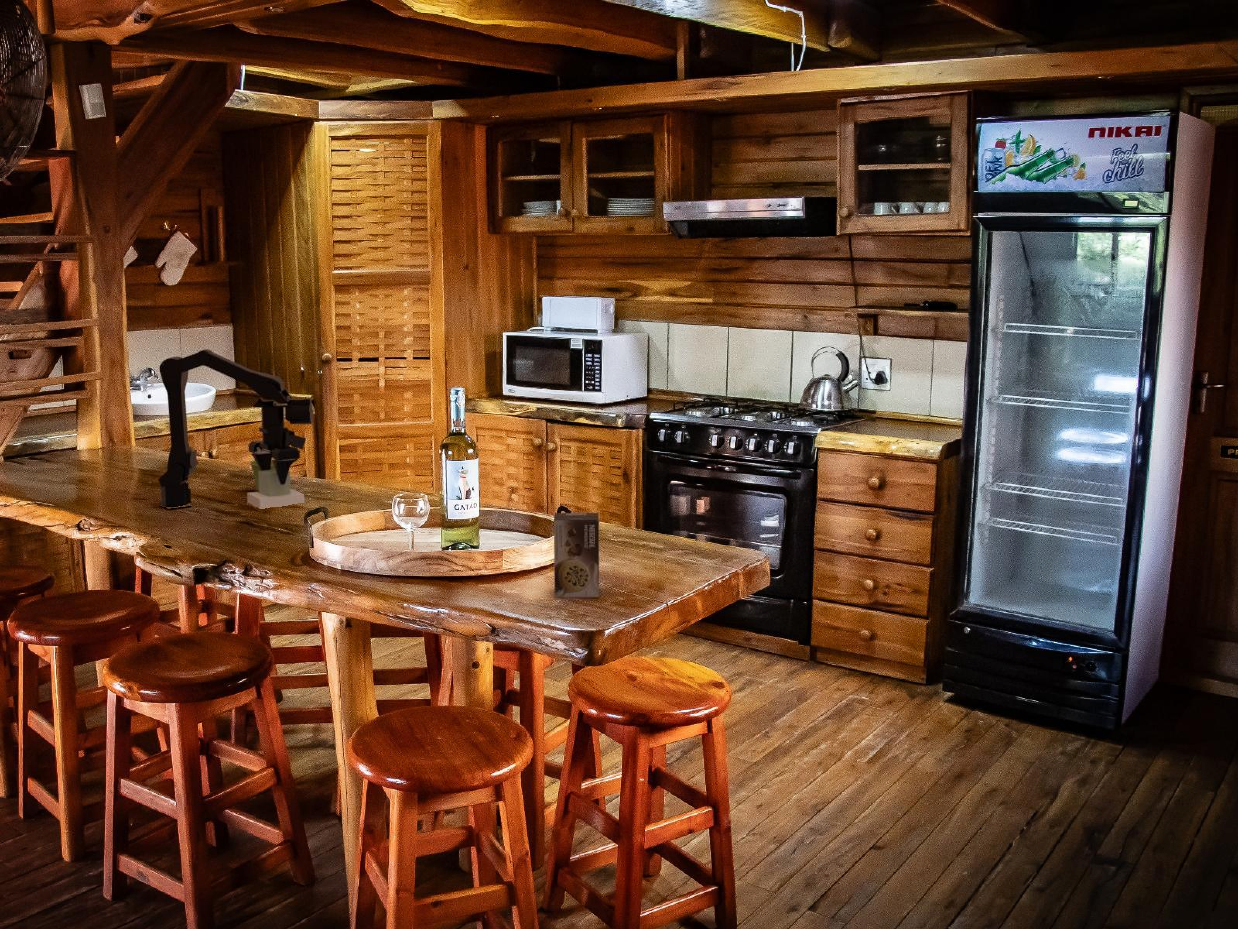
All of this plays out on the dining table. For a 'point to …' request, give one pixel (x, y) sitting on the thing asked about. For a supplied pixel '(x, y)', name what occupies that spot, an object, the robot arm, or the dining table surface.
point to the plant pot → (255, 471)
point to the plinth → (274, 499)
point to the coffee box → (576, 555)
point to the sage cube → (272, 483)
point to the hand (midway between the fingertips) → (275, 481)
